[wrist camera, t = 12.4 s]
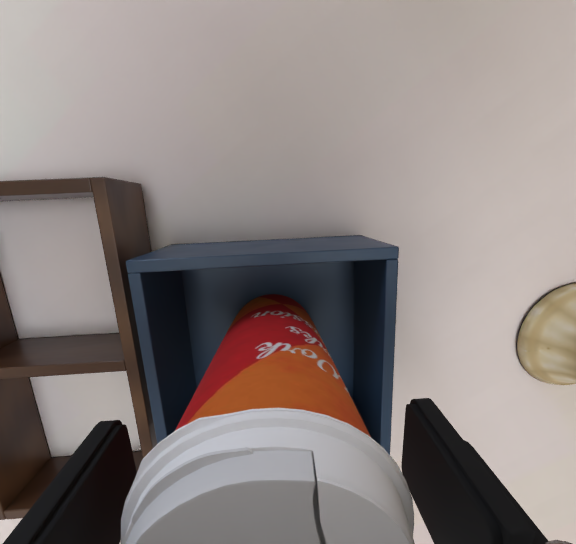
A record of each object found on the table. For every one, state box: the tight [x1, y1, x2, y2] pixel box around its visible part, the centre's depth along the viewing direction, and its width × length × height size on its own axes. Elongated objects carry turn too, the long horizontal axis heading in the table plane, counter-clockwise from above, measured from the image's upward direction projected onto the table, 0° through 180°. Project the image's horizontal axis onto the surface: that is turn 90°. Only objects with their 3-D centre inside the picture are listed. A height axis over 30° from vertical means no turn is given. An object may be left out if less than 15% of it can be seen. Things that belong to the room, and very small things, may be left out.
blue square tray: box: [126, 235, 399, 455], centre depth 17 cm, size 13×13×6 cm
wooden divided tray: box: [0, 177, 157, 520], centre depth 18 cm, size 20×11×4 cm, turn 3°
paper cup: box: [121, 294, 415, 544], centre depth 13 cm, size 8×8×14 cm
